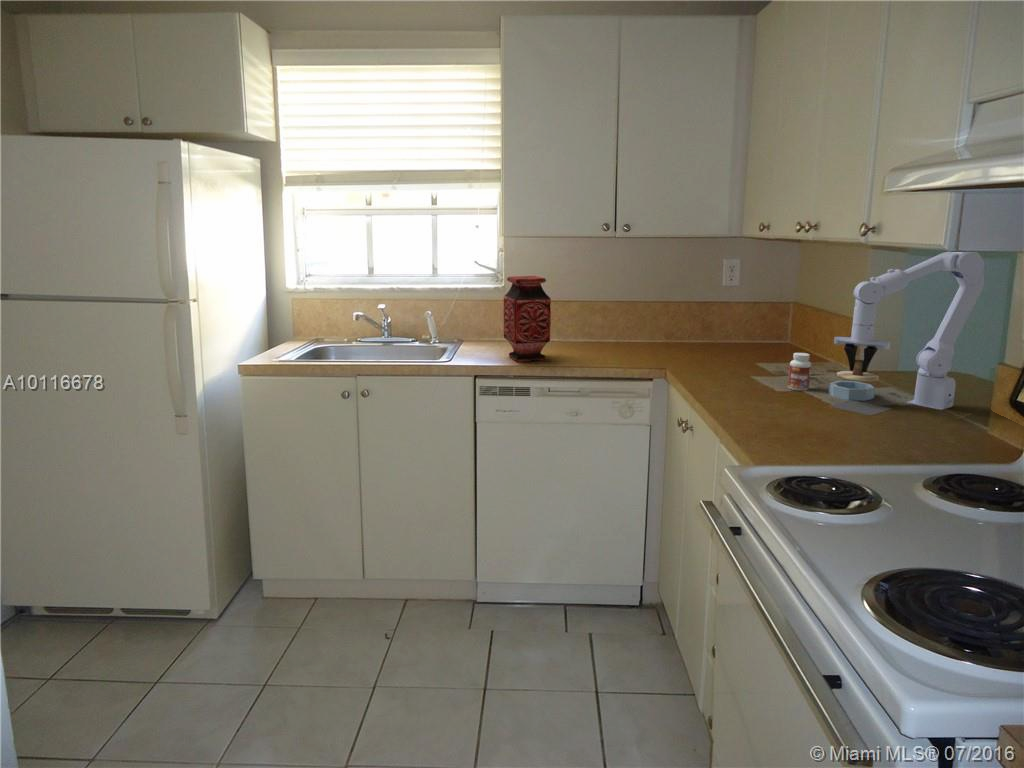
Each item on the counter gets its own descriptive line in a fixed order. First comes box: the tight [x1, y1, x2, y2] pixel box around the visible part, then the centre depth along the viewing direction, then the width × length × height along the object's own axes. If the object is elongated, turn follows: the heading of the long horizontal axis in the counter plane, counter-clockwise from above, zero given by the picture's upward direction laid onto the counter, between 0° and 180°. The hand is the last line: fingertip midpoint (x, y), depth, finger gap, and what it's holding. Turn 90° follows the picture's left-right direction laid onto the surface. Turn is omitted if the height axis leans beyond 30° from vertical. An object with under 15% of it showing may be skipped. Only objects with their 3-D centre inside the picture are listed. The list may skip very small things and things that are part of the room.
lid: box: [836, 359, 880, 382], centre depth 213 cm, size 11×11×5 cm
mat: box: [828, 400, 893, 417], centre depth 208 cm, size 12×12×1 cm
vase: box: [503, 275, 552, 363], centre depth 272 cm, size 14×14×30 cm
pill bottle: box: [787, 352, 812, 392], centre depth 229 cm, size 6×6×11 cm
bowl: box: [828, 380, 876, 402], centre depth 221 cm, size 11×11×4 cm
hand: (858, 371), depth 213 cm, fingers closed on lid, 3 cm apart
